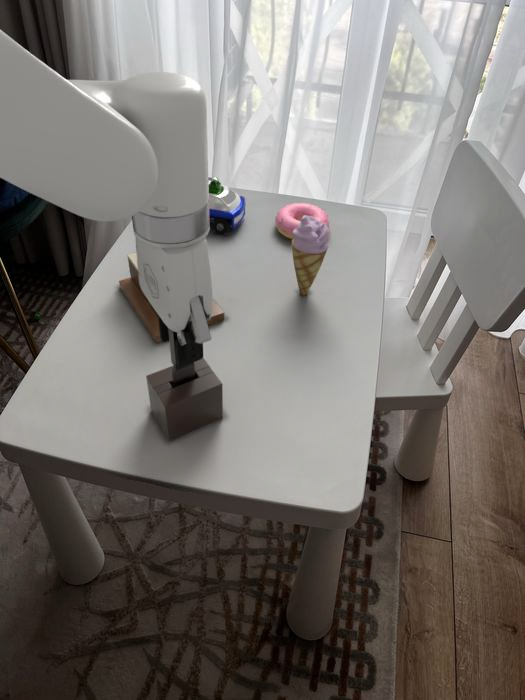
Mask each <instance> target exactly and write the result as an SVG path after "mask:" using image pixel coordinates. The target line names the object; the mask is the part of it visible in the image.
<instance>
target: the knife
mask: <svg viewBox="0 0 525 700" xmlns="http://www.w3.org/2000/svg"><path fill="white" fill-rule="evenodd" d="M184 330H185V333H187V332H189V331H192V323H191V324H188V325H186V327H185V328H184ZM168 333H169V341H168V342H169V351H170V360H171V361H170V362H171V364H172V366H173V367H171V366H170V367H171V368H172V377H173V387H174V388H175V387H177V386H180V385H182V384H185V383H187V382H190V381H192V380H195V366H194V362H193V363H190V364H188V365H185V366H182V367H180V366H179V365H178V364H177V357H176V346H175V340H177V339H178V336H177V332H174V331H172V330H170V329H169V328H168Z"/></svg>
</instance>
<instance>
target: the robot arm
mask: <svg viewBox="0 0 525 700" xmlns="http://www.w3.org/2000/svg"><path fill="white" fill-rule="evenodd" d="M208 139H209V138H208V107H207V98H206V94H205V92H204V90H203V88H202V86H201V85H200V84H199V83H198V81H196V80H194V79H193V78H191V77H189V76H186V75H184V74H180V73H176V72H169V71H151V72H143V73H140V74H139V73H138V74H136V75H132V76H130V77H128V78H126V79H120V80H119V79H118V80H117V79H115V80H114V79H113V80H96V79H95V80H93V79H91V80H89V79H66V77H63V76H62V74H61V75H60V74H59V73H58V72H57V71H56V70H54V69H53V68H51V67H50V66H48V65H47V64H46V63H45V62H44V61H42V60H40V59H39V58H38V57H36V56H35V55H34V54H32V53H31V52H30V51H28V50H27V48H26V49H25V48H24V47H23V46H22V45H21V44H19V43H18V42H17V41H15V39H13V38H12V37H10V36H9V35H8V34H7V33H5V32H4V31H3V30H2V29H0V179H2V180H4V181H6V182H8V183H9V184H12V185H13V186H15V187H17V188H19V189H21V190H24V191H25V192H27V193H29V194H31V195H33V196H36V197H38V198H41V199H42V200H45V201H46V202H49V203H51V204H52V205H55V206H56V207H59V208H61V209H63V210H66V211H68V212H70V213H72V214H75V215H76V216H79V217H81V218H84V219H88V220H91V221H96V222H101V223H102V222H105V223H106V222H107V223H109V222H111V223H112V222H119V221H123V220H125V219H129V218H131V221H132V230H133V234H134V236H135V253H137V265H138V276H139V284H140V287H141V289H142V291H143V293H144V295H145V296H146V298H147V299H148V301H149V302H150V304H151V305H152V306H153V308H154V309H155V311H156V312H157V314H158V323H159V331H160V338H161V340H162V341H161V342H163V343H167V342H169V333H168V328H169V329H170V330H172V331H174V332H177V336H178V339H177V340H175V346H176V357H177V364H178V365H179V366H180V367H182V366H185V365H188V364H190V363H193V362H195V361H198V360H201V359H202V358H204V344H205V343H207V342H210V341H212V336H211V335H212V334H211V332H210V328H209V325H208V324H207V321H209V320H210V318H211V316H212V309H213V300H214V299H213V298H214V297H213V284H212V282H213V281H212V271H211V262H210V255H209V249H208V243H207V238H206V237H208V234H209V233H210V230H211V227H210V225H211V224H210V223H211V222H210V220H211V219H210V218H209V184H210V182H209V181H210V180H208V177H209V145H208V144H209V143H208ZM206 320H207V321H206ZM191 323H192V324H193V328H194V330H192V331H189V332H187V333H185V330H184V328H185V327H186V325H188V324H191Z"/></svg>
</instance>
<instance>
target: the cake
mask: <svg viewBox="0 0 525 700" xmlns="http://www.w3.org/2000/svg"><path fill="white" fill-rule="evenodd" d="M126 256H127V261H128V269H129V275H130V277H131V279H132V281H133V282H134V284H135V285H136V287H137V288H138V290H139V291H140V292H141V294H142V295H143V297H144V298H145V300H146V301H148V299H147V298H146V296H145V295H144V293H143V291H142V289H141V287H140V284H139V276H138V265H137V253H136V252H133V253H129V254H127V255H126Z"/></svg>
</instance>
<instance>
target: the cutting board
mask: <svg viewBox="0 0 525 700" xmlns="http://www.w3.org/2000/svg"><path fill="white" fill-rule="evenodd" d="M118 283H119V289H120V290H121V291H122V293H123V294H124V296H125V298H126V299H127V301H128V302H129V303H130V305H131V307H132V308H133V309H134V311H135V312H136V314H137V316H138V317H139V318H140V320H141V322H142V323H143V324H144V326H145V327H146V329H147V330H148V332H149V334H150V335H151V337H152V338H153V340H154V341H155V342H156V344H159V343H162V342H163V341H162V340H161V338H160V331H159V323H158V317H157V316H156V314H155V313H154V311H153V310H152V308H151V307H150V302H149V301H146V300H145V298H144V297H143V295H142V294H141V292H140V291H139V290H138V288H137V287H136V285H135V284H134V282H133V281H132V279H131V276H130V277H127V278H124V279H121V280H120V279H119V280H118ZM224 320H225V311H224V310H223V309H222V307H220V305H218V303H217V302H216V301H215V300H214V299H213V309H212V316H211V318H210V320H209V321H207V320H206V321H207V324H208V326H209V325H212V324H216V323H218V322H221V321H224ZM192 330H194V328H193V324H192Z"/></svg>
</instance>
